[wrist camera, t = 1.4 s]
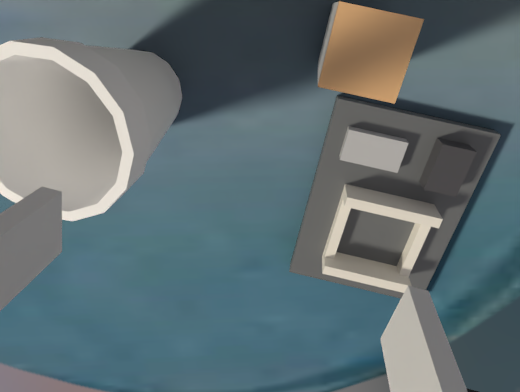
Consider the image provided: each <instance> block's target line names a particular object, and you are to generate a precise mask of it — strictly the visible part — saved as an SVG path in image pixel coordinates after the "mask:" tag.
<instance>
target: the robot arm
mask: <svg viewBox="0 0 520 392" xmlns="http://www.w3.org/2000/svg"><path fill="white" fill-rule="evenodd" d="M61 252H62V192H61V191H58V190H54V189H50V188H47V187H43V186H42V187H40V188H39V189H37V190H35V191H34V192H32V193H31V194H29V195H28V196H26V197H25V198H23V199H22V200H20V201H19V202H17V203H16V204H14V205H13V206H11V207H10V208H8V209H7V210H5V211H4V212H2V213H0V311H1V310H2V309H3V308H4V307H5V306H6V305H7V304H8V303H9V302H10V301H11V300H12V299H13V298H14V297H15V296H16V295H17V294H18V293H19V292H20V291H21V290H23V289H24V288H25V287H26V286H27V285H28V284H29V283H30V282H31V281H32V280H33V279H34V278H35V277H36V276H37V275H38V274H39V273H40V272H41V271H42V270H43V269H44V268H45V267H46V266H47V265H48V264H49V263H51V262H52V261H53V260H54V259H55V258H56V257H57V256H58V255H59V254H60V253H61ZM381 344H382V349H383V355H384V360H385V365H386V371H387V376H388V381H389V386H390V392H478V391H474V390H470V389H467V388H466V386H465V384H464V381H463V379H462V376H461V374H460V371H459V369H458V366H457V363H456V361H455V358H454V356H453V353H452V351H451V348H450V345H449V343H448V340H447V337H446V335H445V332H444V330H443V327H442V325H441V322H440V319H439V317H438V314H437V312H436V309H435V307H434V304H433V301H432V299H431V296H430V294H429V291H427V290H423V289H419V288H416V287H412V286H407V288H406V290H405V292H404V294H403V296H402V298H401V300H400V302H399V304H398V306H397V308H396V310H395V311H394V313H393V315H392V317H391V319H390V321H389V323H388V325H387V327H386V329H385V331H384V333H383V335H382V337H381Z"/></svg>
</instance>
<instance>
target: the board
mask: <svg viewBox="0 0 520 392" xmlns="http://www.w3.org/2000/svg"><path fill="white" fill-rule="evenodd" d="M500 136H501V134H499V133H498V132H496V131H495V130H491V129H487V128H482V127H478V126H473V125H469V124H464V123H460V122H455V121H451V120H446V119H442V118H437V117H433V116H428V115H424V114H419V113H414V112H410V111H405V110H401V109H396V108H392V107H387V106H383V105H378V104H374V103H369V102H365V101H360V100H356V99H351V98H347V97H342V96H338V95H337V97H336V101H335V104H334V108H333V112H332V115H331V119H330V122H329V126H328V130H327V133H326V137H325V141H324V144H323V148H322V151H321V155H320V159H319V162H318V166H317V169H316V173H315V177H314V180H313V184H312V187H311V191H310V195H309V198H308V202H307V205H306V209H305V213H304V216H303V220H302V223H301V227H300V231H299V234H298V238H297V241H296V245H295V249H294V252H293V256H292V260H291V263H290V271H289V272H293V273H297V274H301V275H305V276H309V277H314V278H318V279H322V280H326V281H330V282H335V283H339V284H343V285H347V286H351V287H356V288H360V289H364V290H368V291H372V292H377V293H381V294H385V295H389V296H393V297H398V298H402V296H403V294H404V292H405V290H406V288H407V286H412V287H416V288H419V289H423V290H426V288H427V286H428V284H429V282H430V280H431V278H432V276H433V274H434V272H435V270H436V268H437V266H438V264H439V262H440V260H441V258H442V255H443V253H444V251H445V249H446V247H447V245H448V243H449V241H450V239H451V237H452V235H453V233H454V231H455V229H456V227H457V225H458V222H459V220H460V218H461V216H462V214H463V212H464V210H465V208H466V206H467V204H468V202H469V200H470V198H471V196H472V194H473V192H474V190H475V187H476V185H477V183H478V181H479V179H480V177H481V175H482V173H483V171H484V169H485V167H486V165H487V163H488V161H489V159H490V157H491V155H492V152H493V150H494V148H495V146H496V144H497V142H498V140H499V138H500Z"/></svg>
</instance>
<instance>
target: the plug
mask: <svg viewBox="0 0 520 392" xmlns="http://www.w3.org/2000/svg"><path fill="white" fill-rule="evenodd" d="M423 21H424V19H421V18H416V17H411V16H407V15H402V14H397V13H392V12H388V11H383V10H378V9H374V8H369V7H364V6H360V5H355V4H350V3H346V2H341V1H339V2H335V3H332V7H331V11H330V15H329V19H328V24H327V28H326V32H325V36H324V40H323V44H322V48H321V52H320V56H319V60H318V87H321V88H326V89H330V90H335V91H339V92H344V93H348V94H353V95H357V96H362V97H366V98H371V99H375V100H380V101H384V102H389V103H393V104H395V102H396V99H397V96H398V93H399V91H400V88H401V85H402V82H403V79H404V76H405V73H406V70H407V67H408V65H409V62H410V59H411V56H412V53H413V50H414V47H415V44H416V41H417V39H418V36H419V33H420V30H421V27H422V24H423Z"/></svg>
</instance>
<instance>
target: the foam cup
mask: <svg viewBox="0 0 520 392" xmlns="http://www.w3.org/2000/svg"><path fill="white" fill-rule="evenodd" d="M181 101H182V92H181V87H180V81H179V78H178V77H177V75H176V74H175V72H174V71H173V69H172V68H171V66H170V65H169V63H168V62H166V61H165V60H163V59H162V58H160V57H159V56H157V55H156V54H154V53H153V52H146V51H139V50H132V49H121V48H110V47H99V46H87V45H83V44H82V43H78V42H71V41H64V40H56V39H49V38H42V37H41V38H32V39H23V40H13V41H9V42H6V43H4V44H2V45H0V193H1V194H2V195H3V196H4V197H6V198H8V199H10V200H11V201H13V202H15V203H17V202H19V201H20V200H22V199H23V198H25V197H26V196H28V195H29V194H31V193H32V192H34V191H35V190H37V189H39V188H40V187H42V186H43V187H47V188H50V189H54V190H58V191H61V192H62V220H68V221H76V220H79V219H83V218H87V217H90V216H94V215H97V214H101V213H104V212H105V211H106V210H107V209H108V208H110V207H111V206H112V205H113V204H114V203H115V202H116V201H117V200H118V199H119V198H120V197H121V196H122V195H123V194H124V193H125V192H126V191H127V190H128V189H129V188H130V187H131V186H132V185H133V184H134V183H135V181H136V180H137V179H138V178H139V177H140V176H141V175H142V174H143V173H144V170H145V165H146V162H147V161H148V159H149V158H150V156H151V155H152V153H153V152H154V150H155V149H156V147H157V146H158V144H159V143H160V141H161V139H162V138H163V136H164V135H165V133H166V132H167V130H168V129H169V127H170V126H171V124H172V123H173V121H174V120H175V118H176V117H177V114H178V113H179V109H180V105H181Z"/></svg>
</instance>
